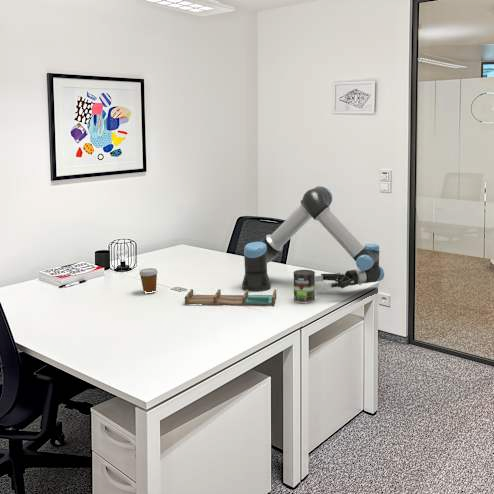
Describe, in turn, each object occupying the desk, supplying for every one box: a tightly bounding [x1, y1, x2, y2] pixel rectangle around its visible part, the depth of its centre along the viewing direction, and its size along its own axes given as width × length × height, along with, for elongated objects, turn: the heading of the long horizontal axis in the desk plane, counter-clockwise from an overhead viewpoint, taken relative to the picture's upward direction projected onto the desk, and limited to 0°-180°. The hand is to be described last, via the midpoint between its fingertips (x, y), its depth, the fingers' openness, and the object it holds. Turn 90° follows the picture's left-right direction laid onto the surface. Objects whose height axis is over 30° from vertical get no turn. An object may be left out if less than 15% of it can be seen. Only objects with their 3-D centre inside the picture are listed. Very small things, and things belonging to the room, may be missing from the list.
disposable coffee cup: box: [139, 267, 159, 292], centre depth 310 cm, size 10×10×12 cm
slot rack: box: [184, 288, 277, 307], centre depth 291 cm, size 14×43×4 cm, turn 82°
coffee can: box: [293, 269, 316, 304], centre depth 287 cm, size 10×10×14 cm
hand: (317, 282), depth 289 cm, fingers open, 13 cm apart
